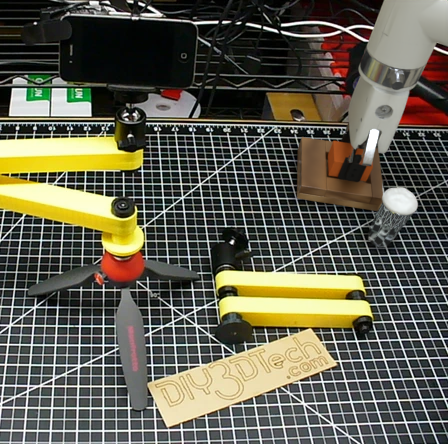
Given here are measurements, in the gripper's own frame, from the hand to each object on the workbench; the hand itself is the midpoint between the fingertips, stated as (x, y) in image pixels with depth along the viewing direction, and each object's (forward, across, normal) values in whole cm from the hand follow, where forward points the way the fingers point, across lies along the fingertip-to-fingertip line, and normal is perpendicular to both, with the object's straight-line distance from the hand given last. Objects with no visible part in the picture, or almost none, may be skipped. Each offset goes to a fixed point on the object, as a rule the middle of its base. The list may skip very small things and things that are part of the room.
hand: (347, 166), depth 88 cm
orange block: (0, 0, 0) cm, 0 cm away
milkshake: (+3, -11, -4) cm, 12 cm away
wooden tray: (+3, 0, +1) cm, 3 cm away
